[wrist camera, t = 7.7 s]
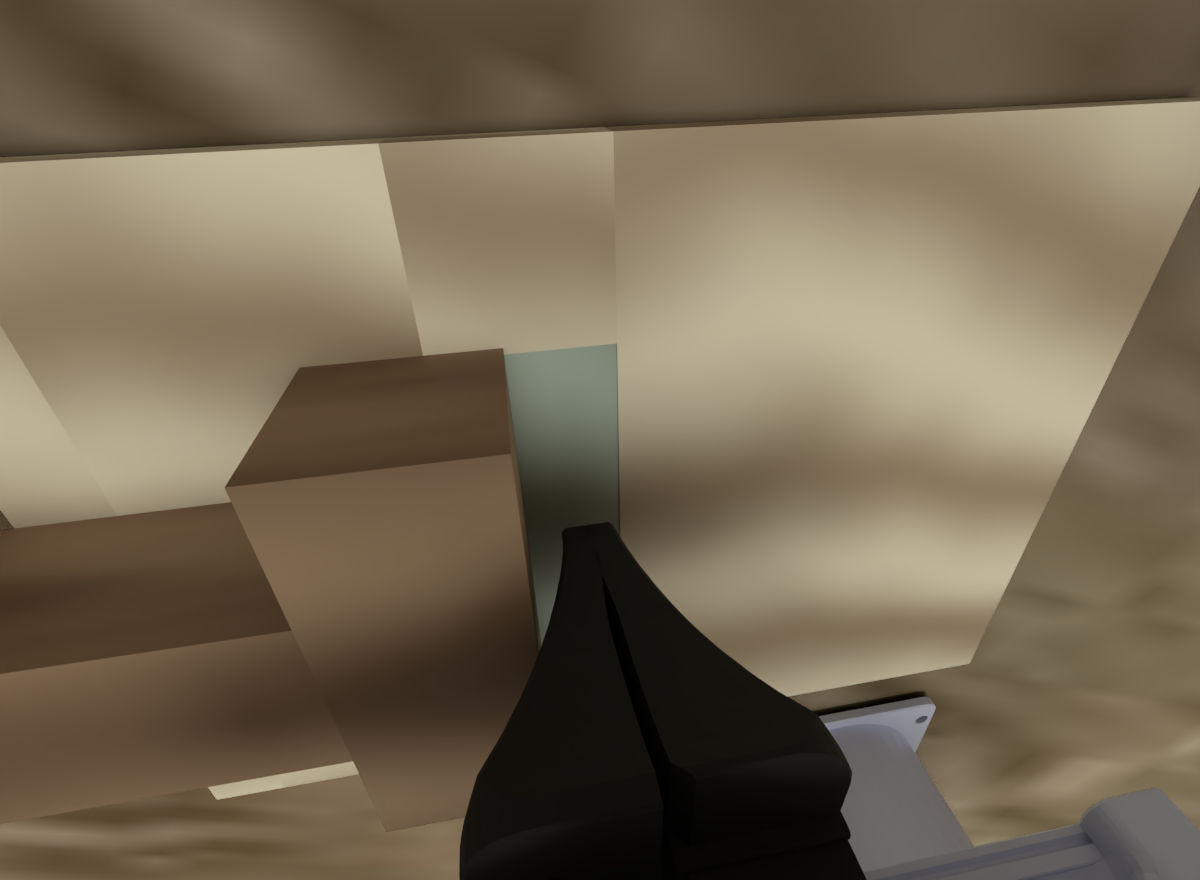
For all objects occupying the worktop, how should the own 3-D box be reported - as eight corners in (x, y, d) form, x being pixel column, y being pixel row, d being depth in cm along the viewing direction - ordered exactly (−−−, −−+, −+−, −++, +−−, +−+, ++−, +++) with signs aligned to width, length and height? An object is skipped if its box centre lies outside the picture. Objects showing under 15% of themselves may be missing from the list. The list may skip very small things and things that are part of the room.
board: (951, 641, 22) (969, 663, 22) (228, 767, 19) (217, 799, 18) (1192, 96, 13) (1241, 99, 12) (-186, 166, 9) (-251, 175, 9)
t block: (543, 659, 17) (558, 799, 14) (143, 724, 16) (54, 896, 13) (503, 348, 12) (510, 454, 9) (-104, 406, 11) (-372, 558, 7)
